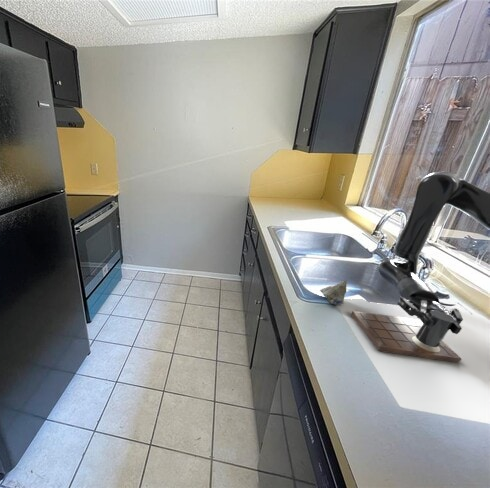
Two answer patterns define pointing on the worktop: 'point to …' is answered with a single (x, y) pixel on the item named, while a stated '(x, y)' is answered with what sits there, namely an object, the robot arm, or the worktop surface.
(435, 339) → the black cylinder
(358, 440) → the worktop surface
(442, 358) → the board
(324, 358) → the worktop surface
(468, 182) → the robot arm
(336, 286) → the rock
